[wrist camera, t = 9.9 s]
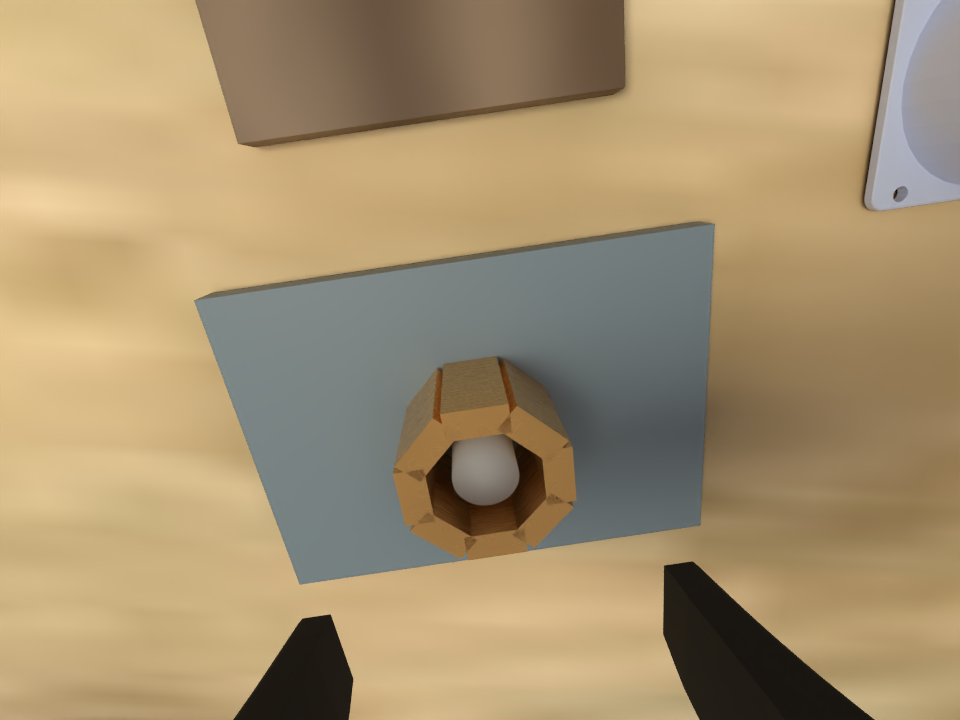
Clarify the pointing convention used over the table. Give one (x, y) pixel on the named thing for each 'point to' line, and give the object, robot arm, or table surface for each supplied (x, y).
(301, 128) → the stand
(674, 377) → the board
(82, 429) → the table surface
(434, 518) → the collar
